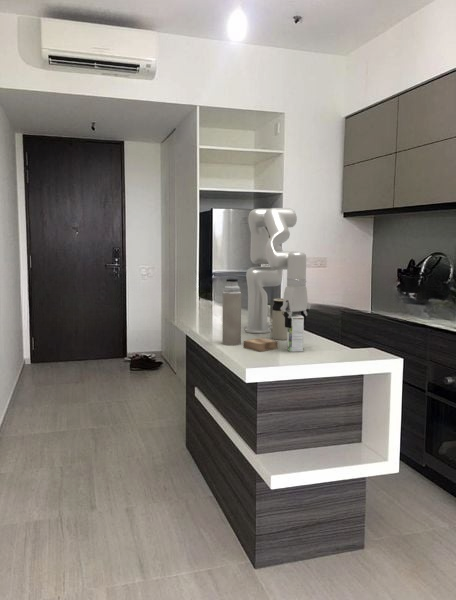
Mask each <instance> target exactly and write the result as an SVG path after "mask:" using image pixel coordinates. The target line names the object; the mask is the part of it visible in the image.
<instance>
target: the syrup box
mask: <svg viewBox="0 0 456 600" xmlns="http://www.w3.org/2000/svg"><path fill="white" fill-rule="evenodd" d="M290 318H292V327H291V328H287V340H286V349H287V351H288V352H289V353H291V352H293V353H295V352H298V353H299V352H303V351H304V331H305V330H304V327H305V326H304V317H303V316H302V315H301V314H295V313H294V314H293V313H292V315H291V317H290Z"/></svg>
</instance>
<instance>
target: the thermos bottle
mask: <svg viewBox="0 0 456 600" xmlns="http://www.w3.org/2000/svg"><path fill="white" fill-rule="evenodd" d="M225 281H226V284H225V286H224V289H223V292H222V344H223V345H225V346H239V345H241V344H242V292H241V287H240V286H239V284H238V279H236V278H227V279H225Z"/></svg>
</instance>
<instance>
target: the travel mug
mask: <svg viewBox="0 0 456 600" xmlns="http://www.w3.org/2000/svg"><path fill="white" fill-rule="evenodd" d="M283 299H284V297H283V298H273V299H272V300H273V305H272V309H271V310H272V315H271V316H272V318H271V319H272V320H271V321H272V326H271V327H272V329H271V333H272V334H271V337H272V339H273V340H275V341H287V327H285V317H284V315H283V314H282V312H281V310H280V308H281V307H282V306H283ZM288 314H289V312H288Z"/></svg>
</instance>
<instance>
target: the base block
mask: <svg viewBox="0 0 456 600" xmlns="http://www.w3.org/2000/svg"><path fill="white" fill-rule="evenodd" d="M278 341H279V340H274V339H273V340H272V339H269V338H263V337H258V338H252V339H245V340H243V346H242V347H243V348H244V349H247V350H251V351H254V352H255V351H256V352H259V353H261V352H266V351H273V350H278V344H279V342H278Z"/></svg>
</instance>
